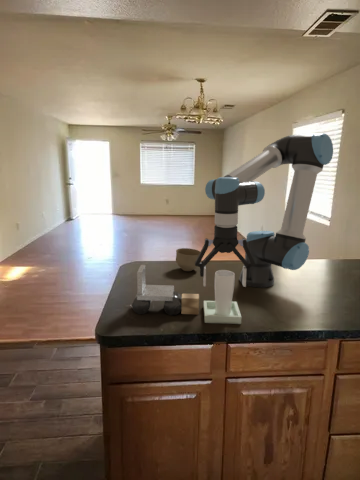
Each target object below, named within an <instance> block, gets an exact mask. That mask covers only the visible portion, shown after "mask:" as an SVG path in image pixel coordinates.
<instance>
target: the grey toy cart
mask: <svg viewBox="0 0 360 480" xmlns="http://www.w3.org/2000/svg"><path fill="white" fill-rule="evenodd" d="M136 279H137V281H136V284H137V290H136V291H137V293H136V295H135V298H134V299H133V301H132V304H131V308H132V310H133V312H134V313H136V314H137V315H145V314H147V313H148V312H149V310H150V307H151V303H152V302H155V301H158V302H164V304H163V310H164V312H165V313H166V314H168V315H169V316H176V315H178V314H180V312H181V308H182V294H180V292H178V291H176V290H175V285H170V284H169V285H166V284H165V285H164V284H163V285H162V284H159V285H158V284H147V283H146V264H140V266H139V268H138V270H137V272H136Z"/></svg>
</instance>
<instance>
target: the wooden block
mask: <svg viewBox="0 0 360 480" xmlns="http://www.w3.org/2000/svg"><path fill="white" fill-rule="evenodd" d="M181 297H182V305H181V311H180V312H181V314H182V315H199V311H200V310H199V307H200V293H182V294H181Z"/></svg>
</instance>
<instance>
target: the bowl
mask: <svg viewBox="0 0 360 480" xmlns="http://www.w3.org/2000/svg"><path fill="white" fill-rule="evenodd" d="M175 251H176V253H175V254H176V255H175V263H176V264H177V266H178V267H179V268H180V269H181V270H182V271H183V272H192V271H193V270H195V269H197V268H198V266H195V261H196V259H197V257H198V255H199V254H200V252H201V250H198V249H194V248H187V247H186V248H184V247H183V248H177V249H176V250H175Z"/></svg>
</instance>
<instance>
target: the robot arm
mask: <svg viewBox="0 0 360 480" xmlns="http://www.w3.org/2000/svg"><path fill="white" fill-rule="evenodd" d="M333 154H334V145H333V142H332V139H331V137H330V136H329V135H328V134H327V133H322V132H320V133H318V132H314V133H305V134H303V133H302V134H289V135H287V136H284V137H281V138H280V139H279V138H278V139H277V140H275V141H274V142H272V143H271V144H270V143H269V144H268V145H267V146H265V147H264V148H263V150H262V152H260V153H258V155H256V156H254V157H253V158H251V159H250V160H248V161H246V162H245V163H243V164H241V165H240V166H239V167H237V168H235V169H234V170H232V171H230V172H228V174H226V175H225V176H219V177H218V178H216V179H210V180H208V181H207V182H206V184H205V188H204V190H205V195H206V197H207V198H208V199H210V200H214V229H213V230H214V233H213V234H214V236H213V239H209V238H205V239H204V242H203V243H204V244H203V246H202V248H201V250H200V254H199V255H198V257H197V259H196V261H195V266H198V267H199V276H200V277H203V279H202V280H203V281H202V282H203V283H202V285H203V287H207V268H206V266H207V264H208V263H209V262H210V261H211V260H212V259H213V258H214V257H215V256H216V255H217V254H218V253H220V254H224V253H227V254H229V253H230V254H231V253H233V254H234V255H235V257H236V258H238V259H239V261H240V262H241V263H242V264H243V266H242V270H241V271H240V273H239V281H240V283H241V284H242V287H245V288H246V287H247V286H248V287H253V288H270V287H272V286H273V285H274V284H275V276H274V272H273V269H272V265H274V266H277V267H280V268H283V269H285V270H287V269H288V270H291V271H297V270H299V269H300V268H301V267H302V266H304V265H305V263H306V261H307V260H308V257H309V254H310V248H309V247H310V246H309V245H308V244H307V243H306V239H307V238H306V237H305V235H304V230H305V226H306V223H307V222H306V221H307V218H308V215H309V210H310V206H311V203H312V197H313V194H314V190H315V189H314V188H315V184H316V181H317V177H318V174H320V173H321V172H322V171H323V170H324V166H327V165H328V164H330V163H331V161H332V160H333V159H332V158H333V156H334V155H333ZM282 165H291V168H292V170H293V172H294V173H293V176H292V181H291V184H290V185H291V186H290V189H289V193H288V198H287V201H286V207H285V211H284V215H283V218H282V224H281V226H280V227H281V228H280V229H279V230H278V231H276V232H274V231H272V230H257V231H250V232H248V233H247V234H246V238H242V239H238V219H239V206H245V205H254V204H258V203H260V202H262V201H263V200H264V198H265V194H266V193H265V187H264V185H263V184H262V183H261V182H259V181H255V180H257V179H258V178H259V177H261V176H262V175H264V174H265V173H267V172H269V171H270V170H271V169H275V168H276V169H277V168H279V166H282ZM211 245H213V246H214V247H213V248H212V250H211V251H210V252H209V254H208V255H206V257H205V258H204V256H205V254H206V253H207V251H208V248H209V247H210V246H211ZM238 245H240V246H241V247H242V248H243V250H244V252H245V253H244V256H243V255H242V254H241V253H240V251H239V250H238V249H237V248H236V247H237V246H238ZM198 267H197V268H198Z"/></svg>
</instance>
